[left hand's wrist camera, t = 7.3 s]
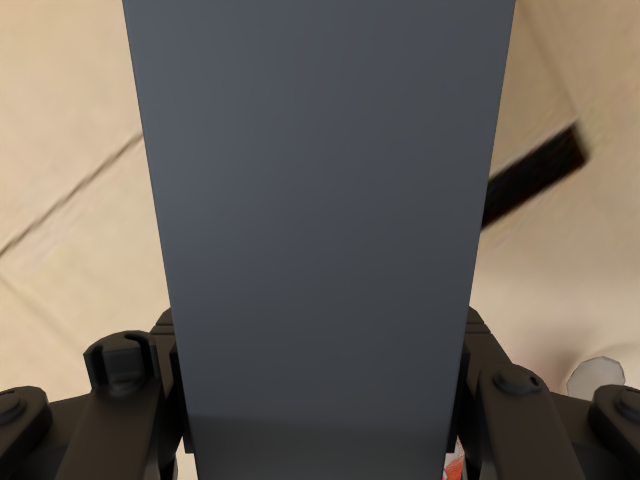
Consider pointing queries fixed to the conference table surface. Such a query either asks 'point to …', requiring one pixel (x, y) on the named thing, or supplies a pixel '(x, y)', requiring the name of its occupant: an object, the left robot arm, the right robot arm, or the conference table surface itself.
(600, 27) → the conference table surface
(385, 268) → the bar
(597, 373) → the fish
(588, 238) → the conference table surface
